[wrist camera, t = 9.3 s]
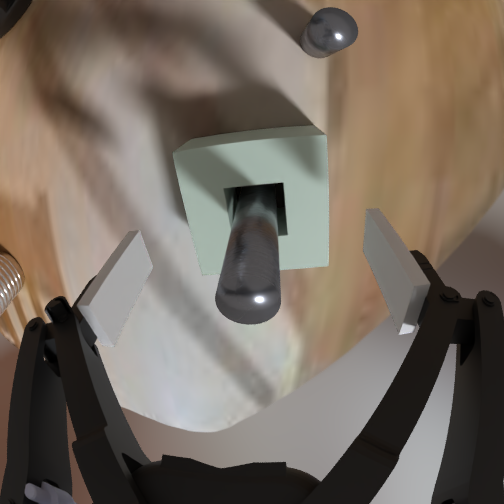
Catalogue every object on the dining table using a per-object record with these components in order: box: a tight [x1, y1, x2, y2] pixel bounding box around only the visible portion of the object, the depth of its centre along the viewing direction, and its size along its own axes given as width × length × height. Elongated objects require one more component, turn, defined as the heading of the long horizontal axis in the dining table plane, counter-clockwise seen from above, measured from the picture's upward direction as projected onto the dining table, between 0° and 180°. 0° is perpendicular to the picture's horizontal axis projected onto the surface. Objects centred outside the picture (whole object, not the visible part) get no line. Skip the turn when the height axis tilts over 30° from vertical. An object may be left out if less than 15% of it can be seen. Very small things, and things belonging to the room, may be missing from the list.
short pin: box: [300, 7, 358, 58], centre depth 14 cm, size 3×3×6 cm
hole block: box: [172, 125, 329, 275], centre depth 22 cm, size 10×10×5 cm
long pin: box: [215, 183, 281, 324], centre depth 18 cm, size 3×3×14 cm
